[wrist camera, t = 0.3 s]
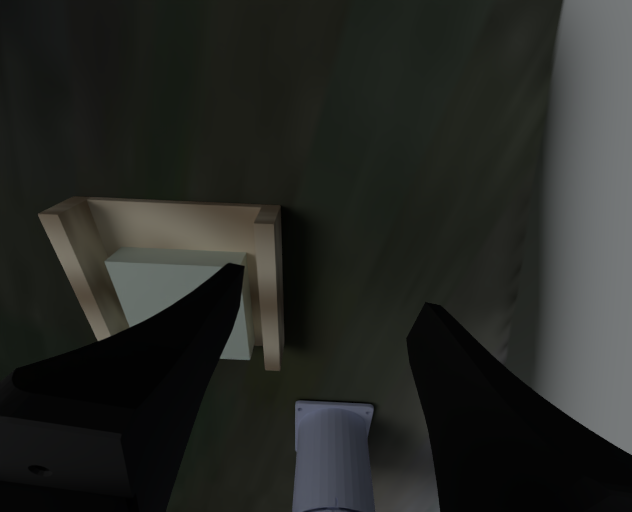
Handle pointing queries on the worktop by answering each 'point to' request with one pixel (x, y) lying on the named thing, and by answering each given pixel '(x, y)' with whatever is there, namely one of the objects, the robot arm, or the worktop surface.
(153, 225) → the slide case
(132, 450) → the robot arm
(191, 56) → the worktop surface
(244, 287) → the cover plate
